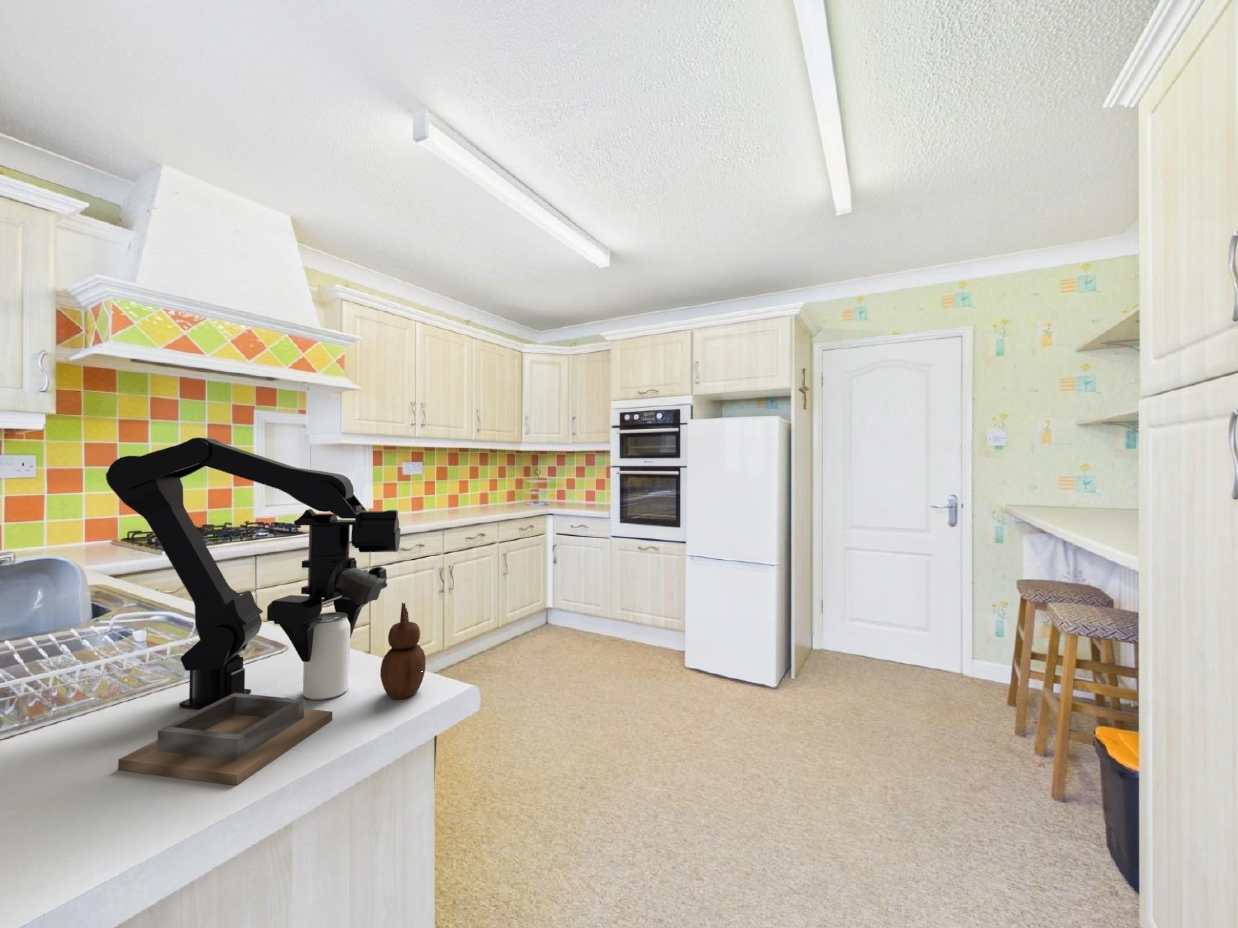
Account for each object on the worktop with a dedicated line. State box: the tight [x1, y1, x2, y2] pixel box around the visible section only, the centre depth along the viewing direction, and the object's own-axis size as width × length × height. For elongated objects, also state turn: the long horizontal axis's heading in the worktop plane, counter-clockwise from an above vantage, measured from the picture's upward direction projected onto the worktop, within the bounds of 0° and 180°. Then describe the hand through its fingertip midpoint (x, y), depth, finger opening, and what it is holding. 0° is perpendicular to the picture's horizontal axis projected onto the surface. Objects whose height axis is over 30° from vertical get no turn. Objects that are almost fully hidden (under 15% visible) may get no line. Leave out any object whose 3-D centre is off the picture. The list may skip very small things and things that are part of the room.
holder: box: [117, 693, 333, 786], centre depth 71 cm, size 16×16×4 cm
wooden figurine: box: [379, 602, 427, 700], centre depth 87 cm, size 7×6×15 cm
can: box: [302, 611, 351, 701], centre depth 87 cm, size 6×6×12 cm
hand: (326, 651), depth 87 cm, fingers open, 9 cm apart
